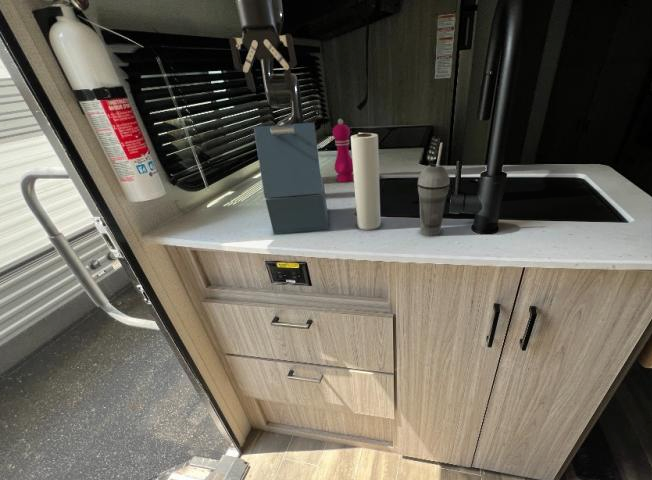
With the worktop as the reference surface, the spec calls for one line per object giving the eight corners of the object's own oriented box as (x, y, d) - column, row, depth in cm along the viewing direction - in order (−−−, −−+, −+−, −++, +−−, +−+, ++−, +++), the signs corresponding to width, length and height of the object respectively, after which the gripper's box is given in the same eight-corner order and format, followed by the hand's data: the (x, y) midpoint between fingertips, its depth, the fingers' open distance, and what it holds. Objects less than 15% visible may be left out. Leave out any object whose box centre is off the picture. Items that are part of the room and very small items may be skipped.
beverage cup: (423, 224, 82) (428, 138, 70) (450, 229, 78) (459, 140, 66) (409, 234, 77) (412, 144, 65) (437, 241, 74) (445, 146, 62)
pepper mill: (338, 177, 122) (332, 117, 110) (356, 177, 121) (352, 117, 109) (334, 183, 116) (327, 120, 104) (353, 182, 115) (348, 119, 103)
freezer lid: (254, 128, 73) (248, 120, 68) (314, 123, 74) (312, 115, 69) (265, 198, 76) (260, 196, 72) (322, 193, 77) (321, 190, 72)
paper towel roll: (376, 231, 80) (372, 137, 67) (354, 229, 82) (346, 136, 69) (384, 220, 85) (383, 131, 72) (363, 218, 87) (358, 131, 74)
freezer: (280, 213, 94) (273, 182, 88) (327, 209, 94) (323, 178, 89) (273, 234, 82) (265, 200, 76) (327, 229, 82) (322, 195, 77)
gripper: (288, 2, 72) (301, 87, 82) (224, 5, 71) (244, 91, 81) (285, -5, 66) (299, 89, 76) (215, -1, 65) (238, 93, 75)
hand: (271, 90), depth 78 cm, fingers open, 8 cm apart
